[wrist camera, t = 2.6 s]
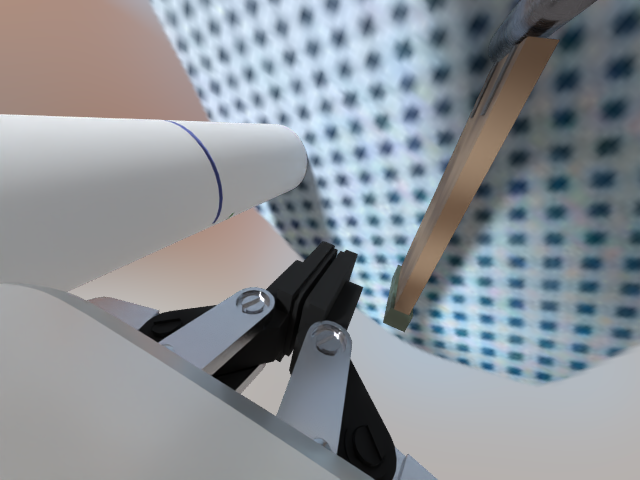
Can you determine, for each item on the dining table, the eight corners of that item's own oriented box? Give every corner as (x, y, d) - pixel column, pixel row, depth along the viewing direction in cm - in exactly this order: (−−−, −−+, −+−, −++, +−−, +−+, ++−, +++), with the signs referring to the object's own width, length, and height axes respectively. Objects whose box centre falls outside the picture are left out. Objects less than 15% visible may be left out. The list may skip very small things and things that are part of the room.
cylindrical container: (319, 153, 24) (-447, 326, 3) (287, 203, 28) (-131, 431, 7) (267, 109, 24) (-805, -32, 3) (243, 165, 28) (-296, 272, 7)
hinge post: (500, 18, 15) (566, -78, 8) (541, 22, 15) (650, -78, 8) (481, 62, 17) (525, 11, 9) (518, 67, 16) (594, 17, 9)
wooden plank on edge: (484, 70, 16) (520, 35, 10) (513, 74, 15) (567, 40, 10) (392, 277, 25) (383, 322, 19) (408, 284, 25) (404, 331, 19)
